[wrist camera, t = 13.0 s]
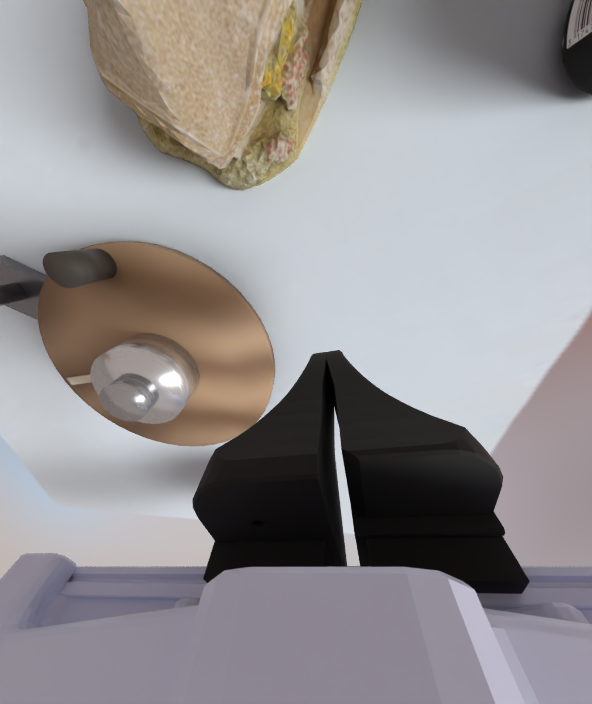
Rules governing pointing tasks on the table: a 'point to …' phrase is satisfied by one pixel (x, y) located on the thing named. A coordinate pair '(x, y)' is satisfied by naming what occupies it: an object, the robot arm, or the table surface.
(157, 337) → the cover
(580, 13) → the beverage can
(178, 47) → the ceramic model
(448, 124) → the table surface
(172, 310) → the turntable
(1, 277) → the grey bent lever
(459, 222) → the table surface
